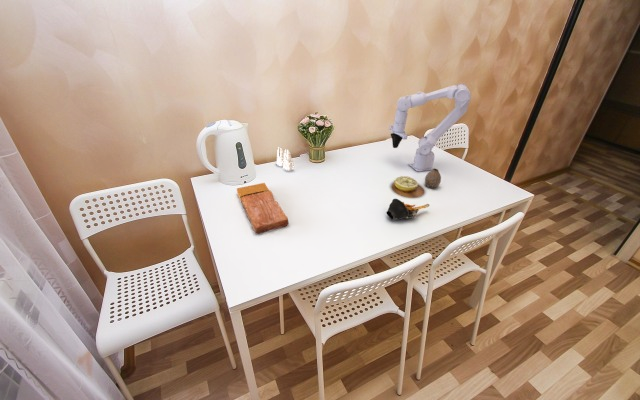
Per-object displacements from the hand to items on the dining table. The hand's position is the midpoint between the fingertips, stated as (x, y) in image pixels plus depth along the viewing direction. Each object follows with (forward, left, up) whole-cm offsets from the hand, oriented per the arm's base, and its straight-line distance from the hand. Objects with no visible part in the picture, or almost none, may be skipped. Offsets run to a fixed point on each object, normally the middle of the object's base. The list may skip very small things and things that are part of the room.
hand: (395, 147), depth 152 cm
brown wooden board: (+74, +24, -10) cm, 78 cm away
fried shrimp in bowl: (+18, +44, -10) cm, 48 cm away
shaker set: (+57, -9, -10) cm, 58 cm away
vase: (-6, +26, -10) cm, 28 cm away
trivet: (+6, +26, -10) cm, 28 cm away
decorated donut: (+6, +24, -10) cm, 26 cm away
